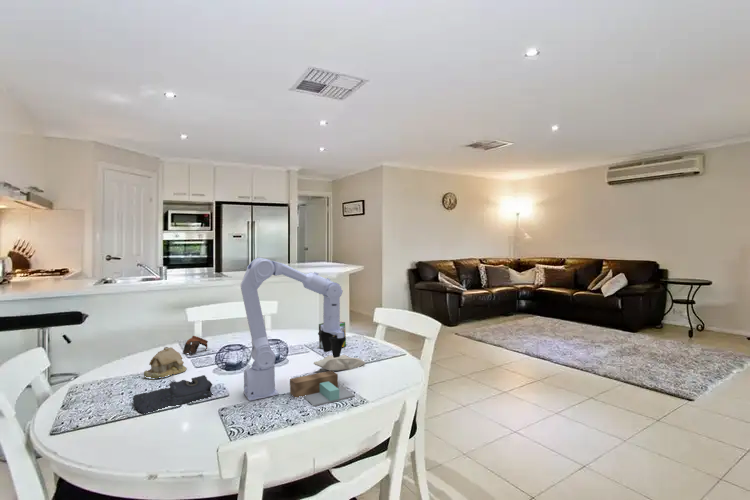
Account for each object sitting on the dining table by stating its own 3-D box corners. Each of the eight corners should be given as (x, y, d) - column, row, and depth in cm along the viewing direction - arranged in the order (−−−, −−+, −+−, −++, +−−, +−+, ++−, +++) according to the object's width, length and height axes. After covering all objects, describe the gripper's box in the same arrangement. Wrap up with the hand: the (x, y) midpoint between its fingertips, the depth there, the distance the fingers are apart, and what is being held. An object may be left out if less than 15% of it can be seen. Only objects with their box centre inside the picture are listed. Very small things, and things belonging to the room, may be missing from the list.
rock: (303, 367, 153) (319, 374, 140) (303, 355, 153) (319, 361, 141) (350, 362, 164) (369, 368, 152) (350, 351, 165) (369, 356, 152)
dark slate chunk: (129, 401, 121) (128, 386, 121) (202, 383, 136) (202, 370, 136) (139, 418, 110) (139, 401, 110) (218, 397, 125) (217, 382, 124)
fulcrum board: (313, 406, 116) (313, 395, 116) (303, 397, 122) (303, 386, 122) (354, 396, 123) (354, 385, 123) (343, 388, 130) (343, 378, 130)
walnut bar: (295, 398, 122) (294, 383, 122) (290, 394, 126) (290, 378, 126) (337, 388, 130) (337, 374, 130) (331, 384, 134) (331, 370, 134)
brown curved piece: (181, 352, 175) (190, 334, 178) (201, 359, 178) (210, 342, 181) (180, 352, 164) (190, 333, 168) (202, 359, 167) (211, 341, 170)
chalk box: (346, 346, 181) (346, 315, 180) (334, 351, 173) (333, 318, 172) (330, 343, 186) (330, 313, 185) (318, 348, 178) (318, 316, 177)
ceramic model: (168, 366, 154) (168, 341, 154) (192, 368, 151) (191, 343, 151) (138, 378, 140) (137, 351, 140) (163, 381, 137) (162, 353, 137)
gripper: (351, 318, 131) (351, 357, 132) (332, 311, 144) (333, 347, 144) (332, 320, 128) (332, 361, 128) (315, 313, 140) (315, 350, 140)
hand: (331, 354), depth 136 cm, fingers open, 7 cm apart
